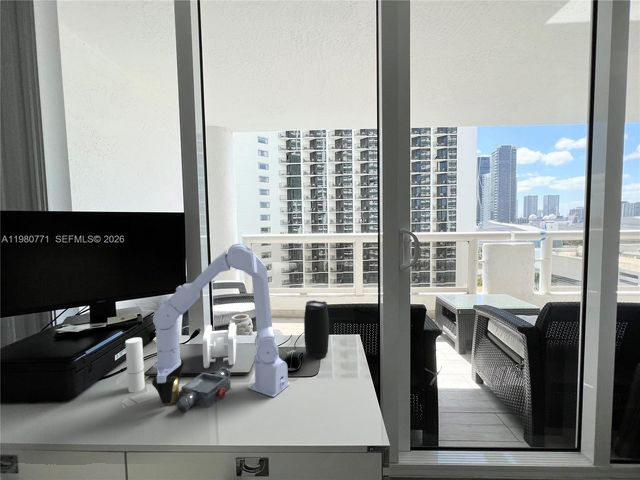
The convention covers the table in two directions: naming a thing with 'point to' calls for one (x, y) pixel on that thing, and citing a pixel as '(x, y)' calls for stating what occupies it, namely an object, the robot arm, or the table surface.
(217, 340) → the cable organizer
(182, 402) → the valve body
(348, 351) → the table surface
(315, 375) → the table surface
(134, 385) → the tube
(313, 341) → the portable speaker
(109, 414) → the table surface
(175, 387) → the brass cylinder
